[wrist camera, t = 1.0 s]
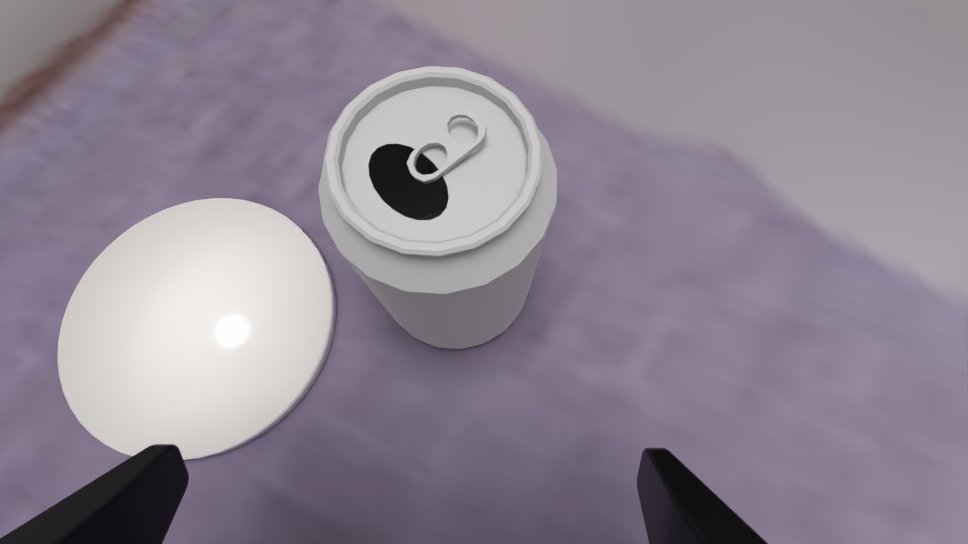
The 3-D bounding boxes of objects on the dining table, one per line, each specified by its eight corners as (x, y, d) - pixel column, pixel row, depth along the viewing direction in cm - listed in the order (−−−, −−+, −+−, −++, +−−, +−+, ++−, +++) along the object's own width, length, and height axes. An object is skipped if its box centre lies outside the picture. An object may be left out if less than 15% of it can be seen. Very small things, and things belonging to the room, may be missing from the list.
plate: (180, 524, 21) (165, 529, 20) (24, 332, 23) (4, 328, 22) (389, 310, 24) (385, 305, 23) (229, 164, 26) (219, 155, 26)
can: (357, 273, 24) (245, 136, 13) (465, 191, 26) (451, 4, 15) (446, 384, 22) (408, 335, 11) (558, 287, 24) (623, 159, 13)
